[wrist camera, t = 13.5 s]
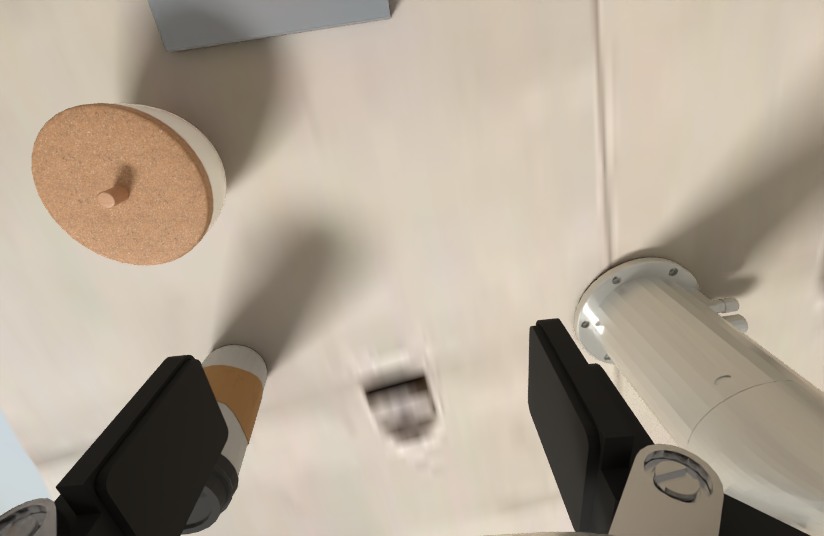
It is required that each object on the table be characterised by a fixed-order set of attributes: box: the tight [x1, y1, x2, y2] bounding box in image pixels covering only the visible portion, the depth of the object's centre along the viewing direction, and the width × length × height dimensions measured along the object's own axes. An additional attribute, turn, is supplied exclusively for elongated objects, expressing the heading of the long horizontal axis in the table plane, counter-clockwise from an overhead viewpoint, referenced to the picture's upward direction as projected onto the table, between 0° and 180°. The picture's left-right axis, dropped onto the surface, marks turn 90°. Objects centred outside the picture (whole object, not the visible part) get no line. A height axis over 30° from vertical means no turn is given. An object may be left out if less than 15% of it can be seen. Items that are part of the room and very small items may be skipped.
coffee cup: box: [181, 345, 267, 535], centre depth 36 cm, size 8×8×15 cm
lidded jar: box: [32, 103, 226, 265], centre depth 29 cm, size 11×11×9 cm
